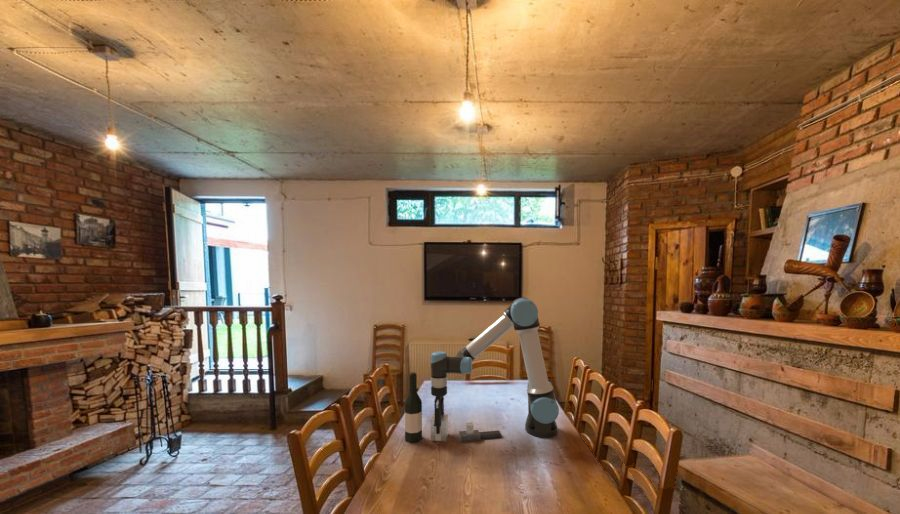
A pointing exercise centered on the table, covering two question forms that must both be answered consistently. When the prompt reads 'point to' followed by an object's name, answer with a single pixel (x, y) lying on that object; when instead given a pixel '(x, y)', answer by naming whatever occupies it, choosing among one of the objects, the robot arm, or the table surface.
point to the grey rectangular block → (443, 427)
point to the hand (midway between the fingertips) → (439, 436)
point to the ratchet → (476, 434)
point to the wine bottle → (413, 412)
